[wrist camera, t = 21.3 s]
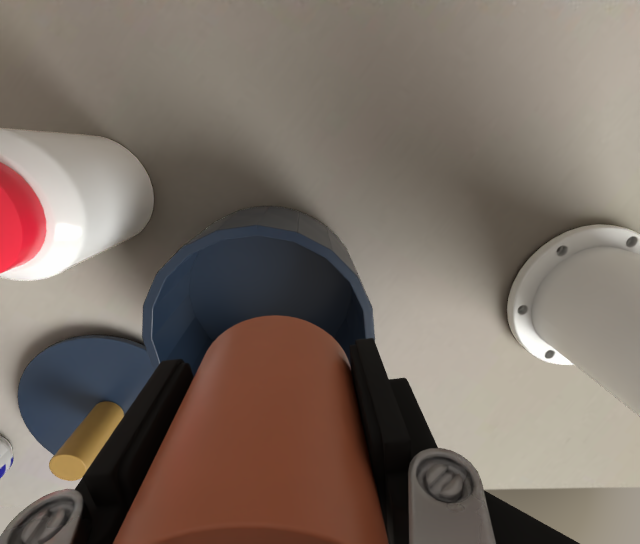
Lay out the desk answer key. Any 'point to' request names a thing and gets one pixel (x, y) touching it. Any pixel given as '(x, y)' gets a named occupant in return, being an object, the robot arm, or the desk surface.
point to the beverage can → (5, 455)
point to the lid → (81, 396)
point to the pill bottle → (66, 200)
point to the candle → (263, 448)
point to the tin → (254, 284)
